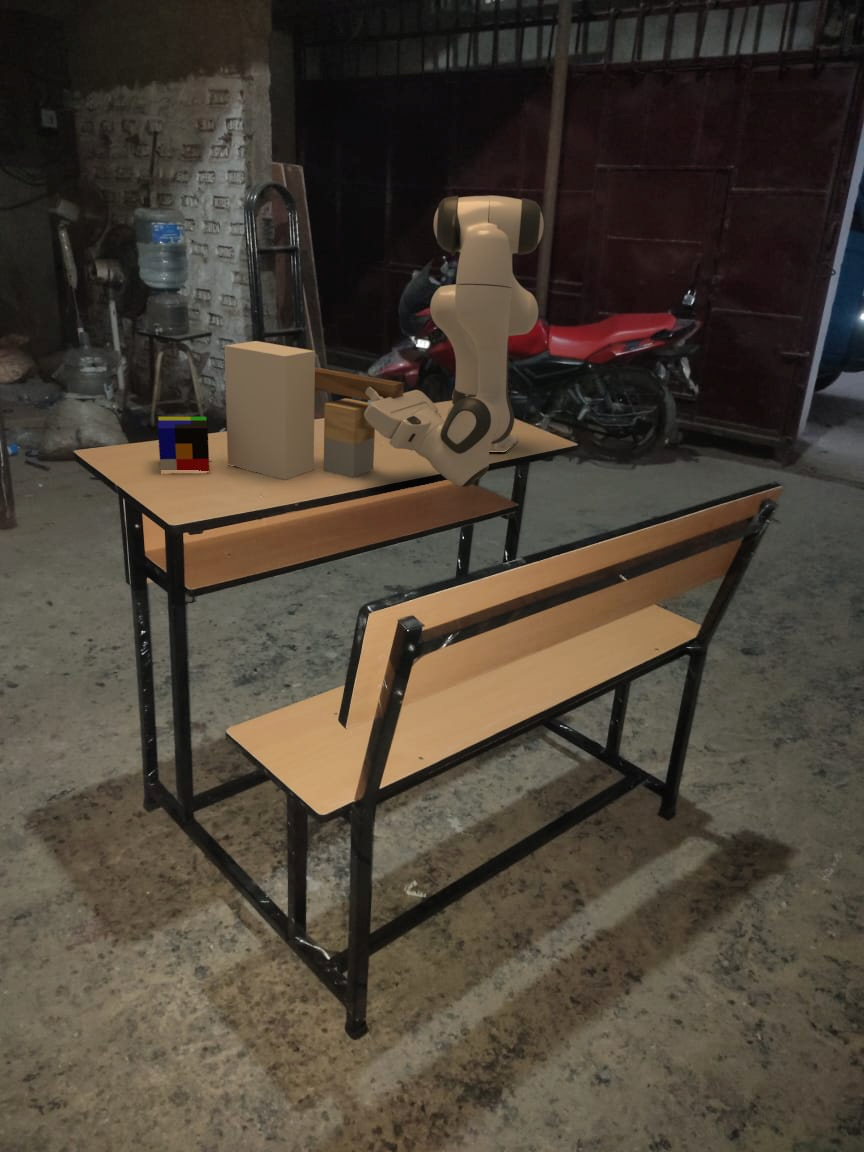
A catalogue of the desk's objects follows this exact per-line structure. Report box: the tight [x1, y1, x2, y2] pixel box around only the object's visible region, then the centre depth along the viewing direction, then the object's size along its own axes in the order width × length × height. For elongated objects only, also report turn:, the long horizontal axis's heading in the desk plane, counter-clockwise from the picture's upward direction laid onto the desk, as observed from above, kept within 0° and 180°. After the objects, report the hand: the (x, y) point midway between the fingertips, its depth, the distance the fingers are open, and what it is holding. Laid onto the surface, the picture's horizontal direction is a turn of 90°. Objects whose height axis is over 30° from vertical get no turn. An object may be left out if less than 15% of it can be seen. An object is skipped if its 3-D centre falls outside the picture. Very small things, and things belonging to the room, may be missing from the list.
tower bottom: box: [323, 437, 375, 479], centre depth 191 cm, size 8×8×8 cm
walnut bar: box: [315, 366, 405, 401], centre depth 185 cm, size 4×24×4 cm, turn 61°
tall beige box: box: [224, 340, 316, 481], centre depth 185 cm, size 10×16×26 cm, turn 61°
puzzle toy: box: [157, 416, 210, 472], centre depth 185 cm, size 10×10×10 cm
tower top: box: [323, 398, 376, 444], centre depth 188 cm, size 8×8×8 cm
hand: (375, 387), depth 182 cm, fingers closed on walnut bar, 4 cm apart
